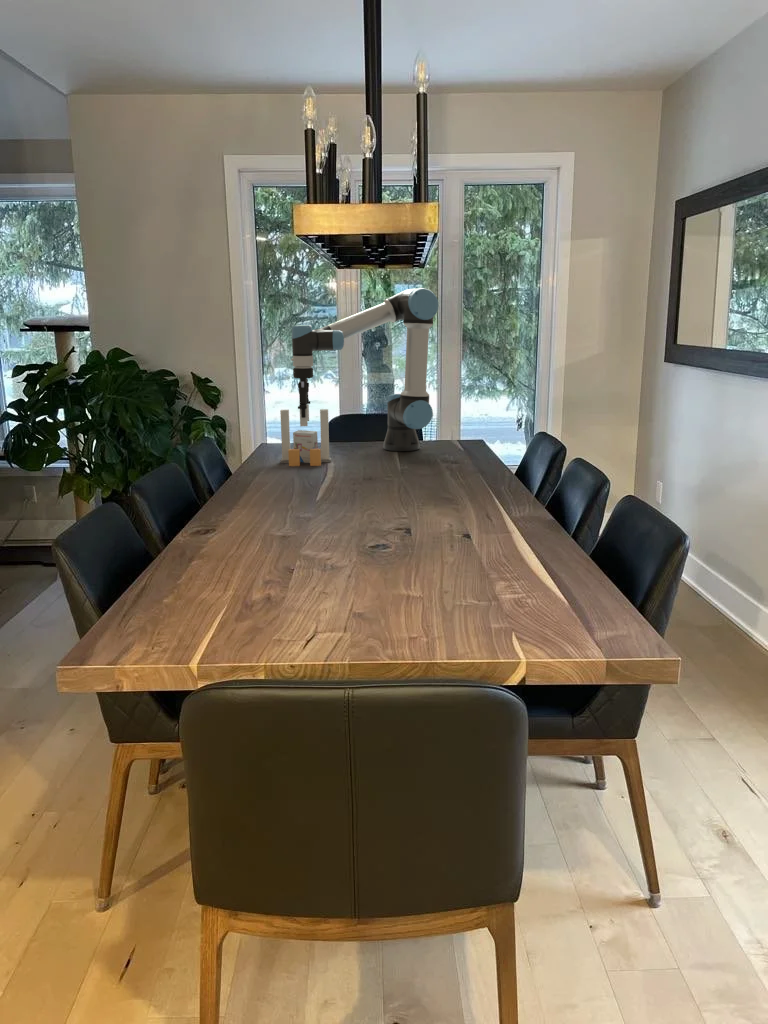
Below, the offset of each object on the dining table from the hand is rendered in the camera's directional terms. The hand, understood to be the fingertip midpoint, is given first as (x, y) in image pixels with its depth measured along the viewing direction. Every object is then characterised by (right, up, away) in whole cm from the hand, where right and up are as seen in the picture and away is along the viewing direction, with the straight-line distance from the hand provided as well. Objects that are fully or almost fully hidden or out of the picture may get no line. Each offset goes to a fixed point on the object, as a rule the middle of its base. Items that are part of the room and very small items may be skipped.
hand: (304, 423), depth 292 cm
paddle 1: (-4, -16, -3) cm, 17 cm away
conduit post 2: (+8, -14, +4) cm, 17 cm away
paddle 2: (+4, -16, -3) cm, 17 cm away
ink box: (0, -15, +4) cm, 15 cm away
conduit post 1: (-7, -14, +3) cm, 17 cm away
